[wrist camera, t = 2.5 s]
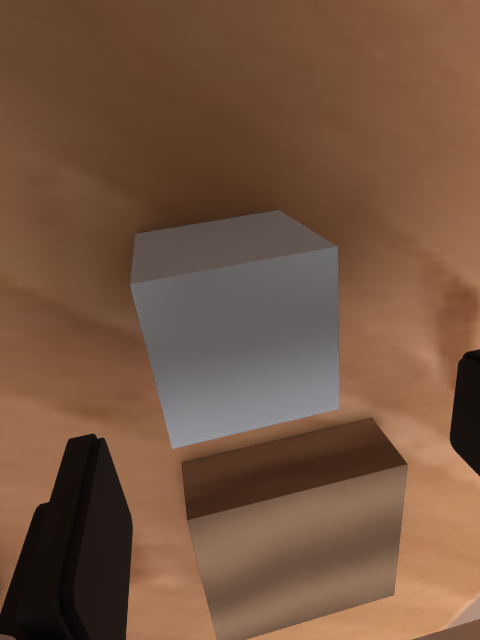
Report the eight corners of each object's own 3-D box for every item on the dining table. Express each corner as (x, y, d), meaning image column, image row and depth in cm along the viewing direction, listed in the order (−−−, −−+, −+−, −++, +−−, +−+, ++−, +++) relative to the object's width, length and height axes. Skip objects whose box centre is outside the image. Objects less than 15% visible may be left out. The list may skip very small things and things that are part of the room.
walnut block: (180, 457, 22) (187, 520, 18) (368, 414, 24) (407, 464, 20) (209, 579, 27) (218, 647, 23) (363, 536, 28) (393, 594, 25)
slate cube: (135, 233, 16) (129, 284, 11) (278, 209, 17) (337, 246, 12) (165, 359, 19) (172, 448, 14) (287, 333, 20) (339, 409, 14)
